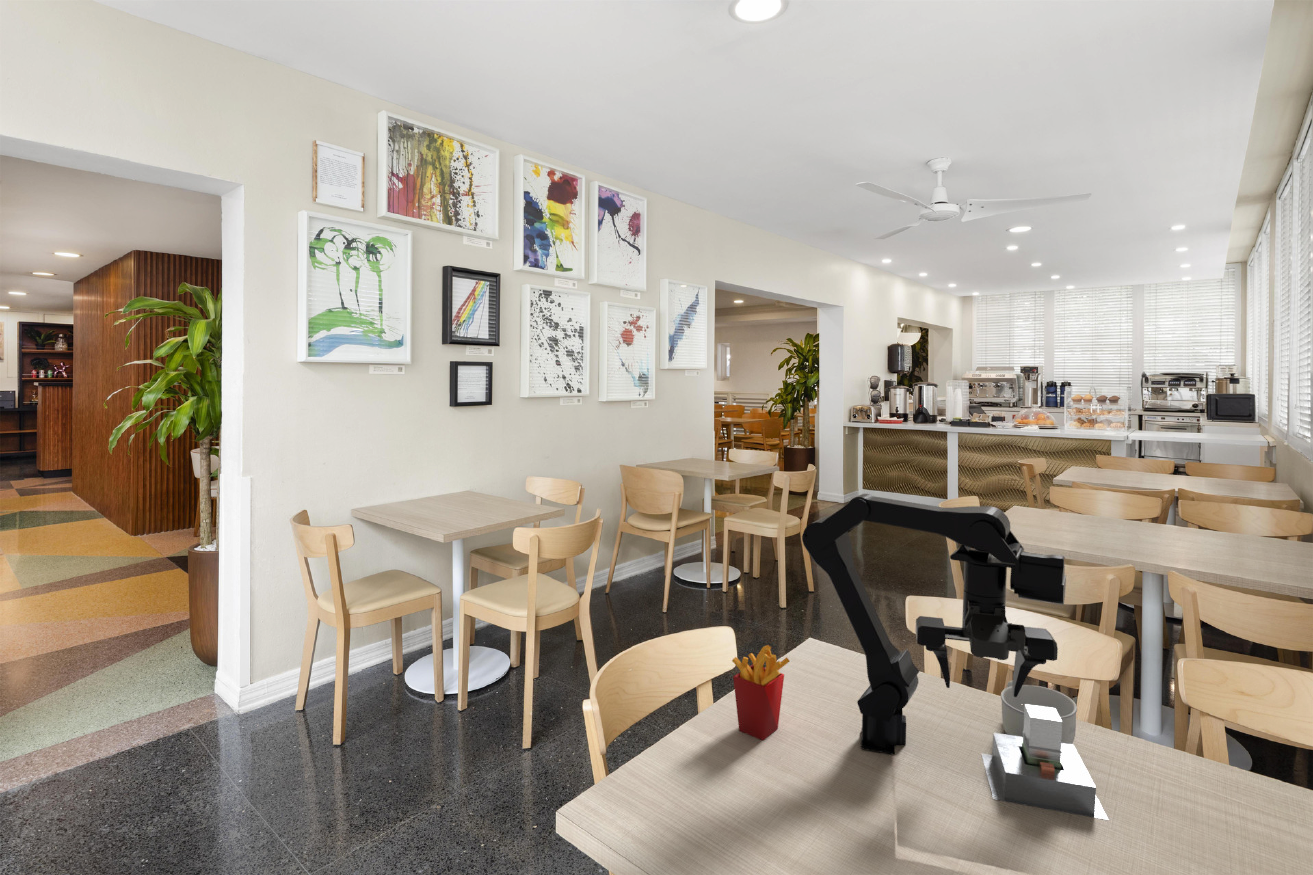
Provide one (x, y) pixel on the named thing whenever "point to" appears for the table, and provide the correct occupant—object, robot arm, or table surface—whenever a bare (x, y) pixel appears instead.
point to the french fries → (759, 693)
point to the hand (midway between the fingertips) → (980, 691)
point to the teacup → (1038, 697)
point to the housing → (1041, 779)
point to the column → (1042, 735)
